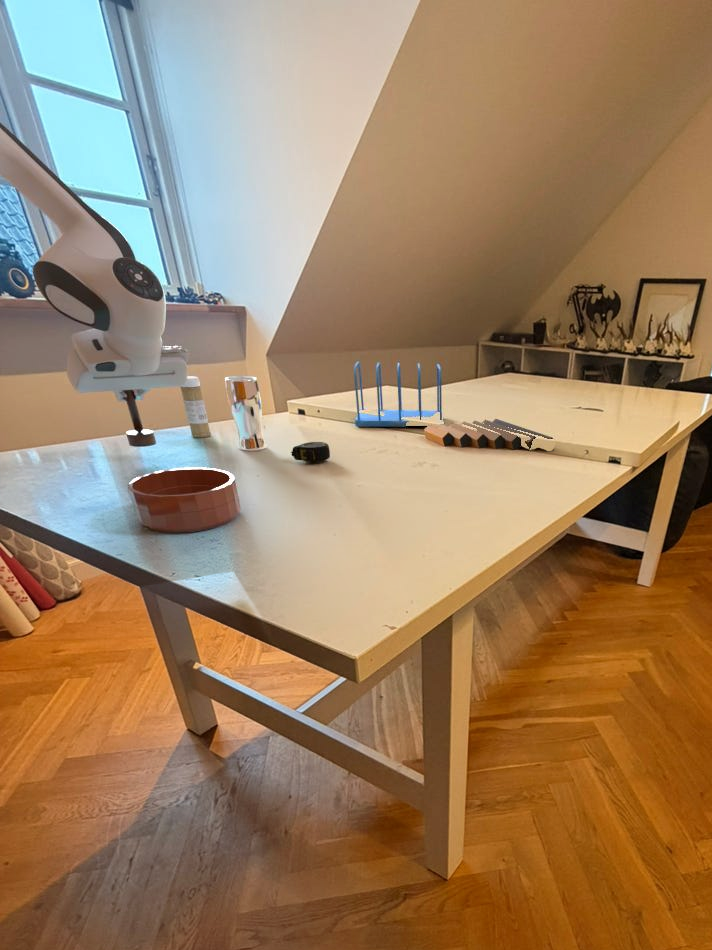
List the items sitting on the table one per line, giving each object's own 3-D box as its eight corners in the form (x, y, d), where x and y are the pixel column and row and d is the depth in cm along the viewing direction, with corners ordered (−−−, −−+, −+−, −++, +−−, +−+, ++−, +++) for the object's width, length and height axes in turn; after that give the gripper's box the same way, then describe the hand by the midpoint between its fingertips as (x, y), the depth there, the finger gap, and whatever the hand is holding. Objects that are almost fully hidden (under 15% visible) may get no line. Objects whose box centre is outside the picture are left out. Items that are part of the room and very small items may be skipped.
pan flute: (555, 450, 138) (500, 430, 155) (557, 436, 136) (500, 418, 153) (474, 461, 126) (423, 438, 143) (474, 446, 124) (423, 424, 141)
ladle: (129, 447, 111) (102, 358, 102) (129, 442, 115) (104, 355, 106) (156, 445, 113) (133, 358, 104) (156, 440, 117) (133, 355, 108)
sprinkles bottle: (206, 433, 138) (193, 375, 131) (214, 436, 136) (202, 377, 128) (188, 435, 135) (173, 376, 128) (196, 438, 133) (182, 378, 125)
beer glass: (250, 443, 131) (238, 375, 123) (274, 446, 130) (264, 377, 122) (230, 449, 126) (216, 378, 118) (255, 452, 124) (242, 381, 116)
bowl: (139, 540, 80) (126, 501, 77) (139, 508, 91) (128, 472, 88) (247, 526, 87) (240, 489, 83) (235, 498, 98) (228, 464, 94)
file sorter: (441, 417, 168) (441, 362, 160) (444, 429, 154) (445, 369, 145) (360, 415, 165) (355, 359, 157) (355, 427, 151) (350, 366, 142)
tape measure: (312, 456, 124) (310, 439, 122) (337, 460, 122) (335, 443, 120) (292, 462, 119) (289, 445, 117) (317, 467, 116) (315, 449, 114)
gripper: (182, 333, 106) (174, 381, 116) (60, 334, 93) (63, 388, 103) (198, 361, 106) (188, 406, 116) (78, 366, 93) (79, 417, 103)
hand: (128, 398), depth 110 cm, fingers closed on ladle
